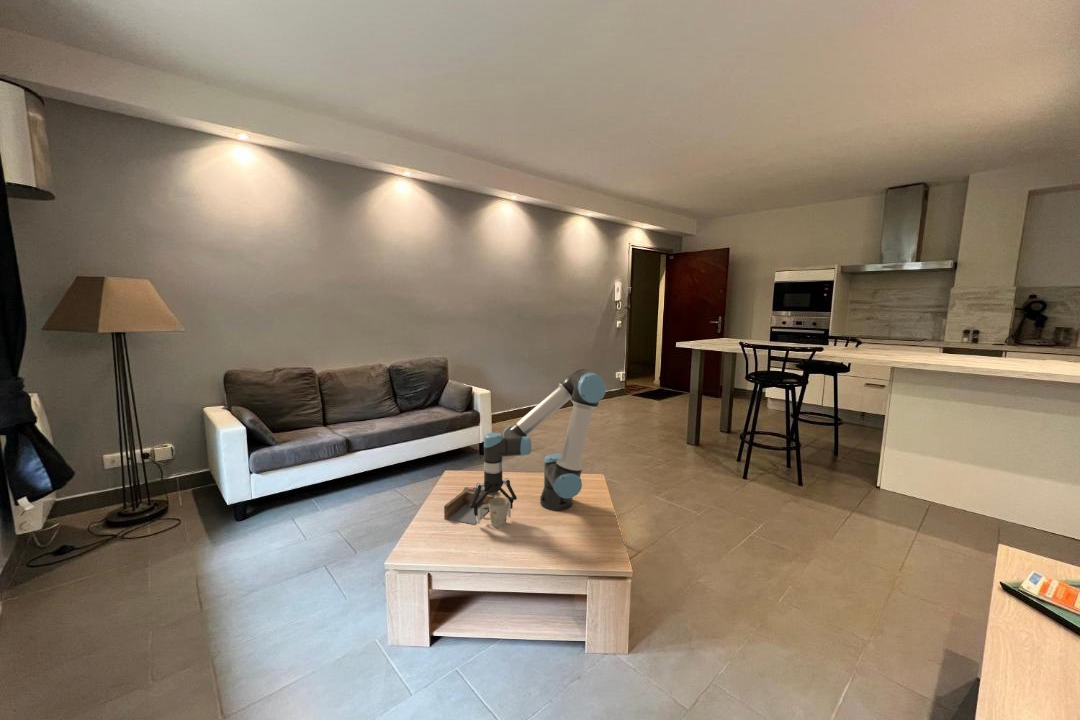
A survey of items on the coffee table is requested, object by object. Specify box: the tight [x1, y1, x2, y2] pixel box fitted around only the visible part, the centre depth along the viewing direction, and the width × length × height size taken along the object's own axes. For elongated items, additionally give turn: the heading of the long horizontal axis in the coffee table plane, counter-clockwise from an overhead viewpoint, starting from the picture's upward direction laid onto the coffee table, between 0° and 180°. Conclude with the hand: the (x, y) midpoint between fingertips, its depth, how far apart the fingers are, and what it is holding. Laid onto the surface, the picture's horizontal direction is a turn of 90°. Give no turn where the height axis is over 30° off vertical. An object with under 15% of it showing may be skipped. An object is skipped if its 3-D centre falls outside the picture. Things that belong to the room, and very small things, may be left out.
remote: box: [462, 486, 498, 496], centre depth 207 cm, size 16×4×2 cm, turn 89°
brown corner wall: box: [443, 490, 495, 521], centre depth 187 cm, size 16×16×6 cm
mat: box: [448, 504, 490, 526], centre depth 186 cm, size 13×14×1 cm
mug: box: [480, 496, 509, 529], centre depth 178 cm, size 8×13×10 cm, turn 89°
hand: (493, 519), depth 178 cm, fingers open, 13 cm apart
